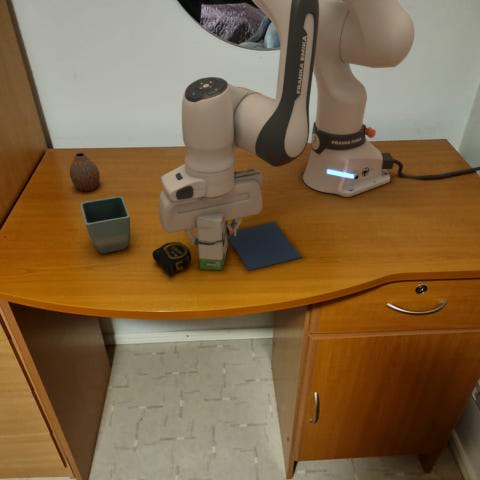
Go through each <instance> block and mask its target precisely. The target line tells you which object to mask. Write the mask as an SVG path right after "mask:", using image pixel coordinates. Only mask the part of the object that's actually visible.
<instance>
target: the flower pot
mask: <svg viewBox="0 0 480 480" xmlns="http://www.w3.org/2000/svg"><path fill="white" fill-rule="evenodd" d="M79 206H80V208H81V212H82V216H83V221H84V224H85V228H86V230H87V233H88V236H89V238H90V241H91V243H92V245H93V246H94V248H95V249H96V250H97V251H98V252H99V253H101V254H108V253H113V252H118V251H123V250H126V249H127V247H128V245H129V243H130V239H131V215H130V212H129V210H128V207H127V205H126V203H125V200H124V197H123V196H121V195H119V196H112V197H107V198H106V197H105V198H101V199H95V200H88V201H83V202H81V203H80V204H79Z"/></svg>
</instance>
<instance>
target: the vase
mask: <svg viewBox="0 0 480 480" xmlns="http://www.w3.org/2000/svg"><path fill="white" fill-rule="evenodd" d="M69 177H70V180H71V183H72V184H73V186H75V188H77V189H78V190H80V191H81V192H91V191H94V190H95V189H96V188H98V186H99V184H100V179H101V178H100V171H99V168H98V166H97V164H96V163H95V162H94V161H93V160H92V159H91V158H89V157H88V156H87V154H86V153H85V152H82V151H80V152H76V153H75V154H74V157H73V160H72V161H71V163H70V167H69Z"/></svg>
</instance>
